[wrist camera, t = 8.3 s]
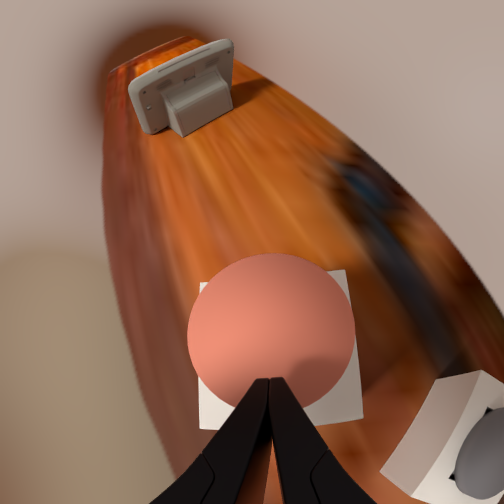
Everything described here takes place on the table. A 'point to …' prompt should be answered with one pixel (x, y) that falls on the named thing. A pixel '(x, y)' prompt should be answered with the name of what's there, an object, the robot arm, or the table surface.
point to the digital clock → (185, 90)
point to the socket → (443, 438)
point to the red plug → (271, 328)
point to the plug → (482, 458)
